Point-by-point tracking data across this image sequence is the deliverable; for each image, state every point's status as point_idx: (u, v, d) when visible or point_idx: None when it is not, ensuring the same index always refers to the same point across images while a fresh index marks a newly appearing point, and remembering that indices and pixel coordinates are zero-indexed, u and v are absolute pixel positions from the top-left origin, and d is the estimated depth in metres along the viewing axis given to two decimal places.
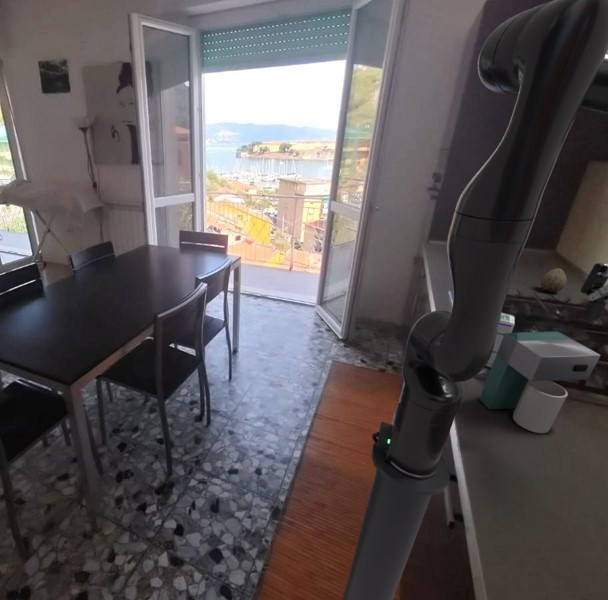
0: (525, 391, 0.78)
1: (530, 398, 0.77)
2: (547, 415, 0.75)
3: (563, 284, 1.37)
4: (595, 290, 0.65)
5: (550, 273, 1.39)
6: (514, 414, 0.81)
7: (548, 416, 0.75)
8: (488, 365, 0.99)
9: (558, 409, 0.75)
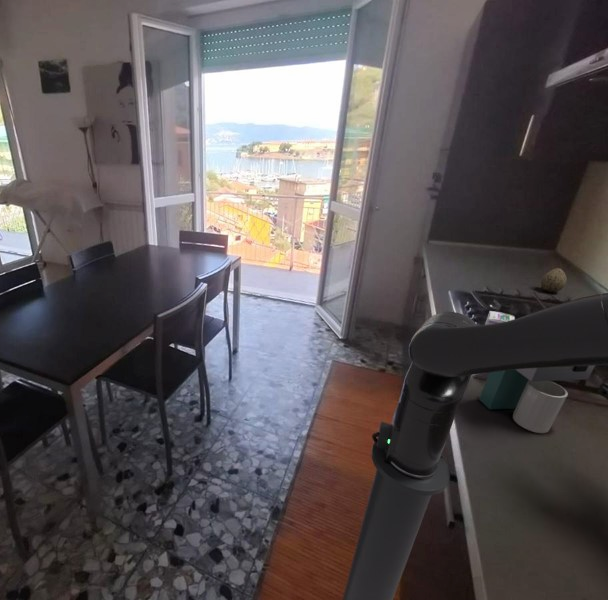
0: (525, 391, 0.78)
1: (530, 398, 0.77)
2: (547, 415, 0.75)
3: (563, 284, 1.37)
4: None
5: (550, 273, 1.39)
6: (514, 414, 0.81)
7: (548, 416, 0.75)
8: None
9: (558, 409, 0.75)
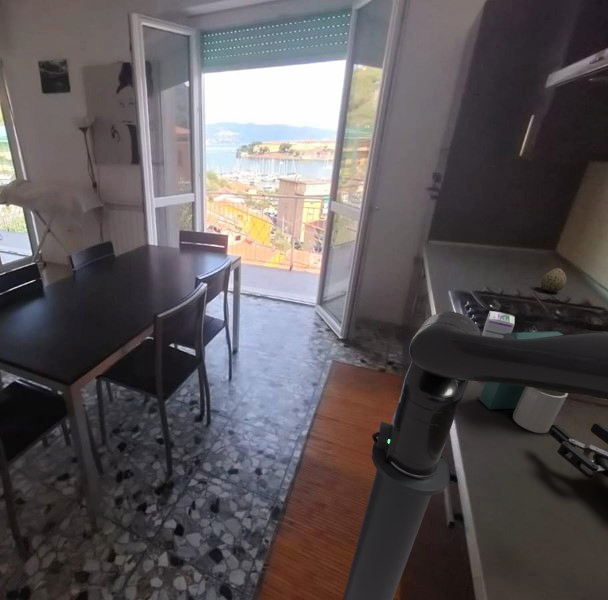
0: (525, 391, 0.78)
1: (530, 398, 0.77)
2: (547, 415, 0.75)
3: (563, 284, 1.37)
4: None
5: (550, 273, 1.39)
6: (514, 414, 0.81)
7: (548, 416, 0.75)
8: None
9: (558, 409, 0.75)
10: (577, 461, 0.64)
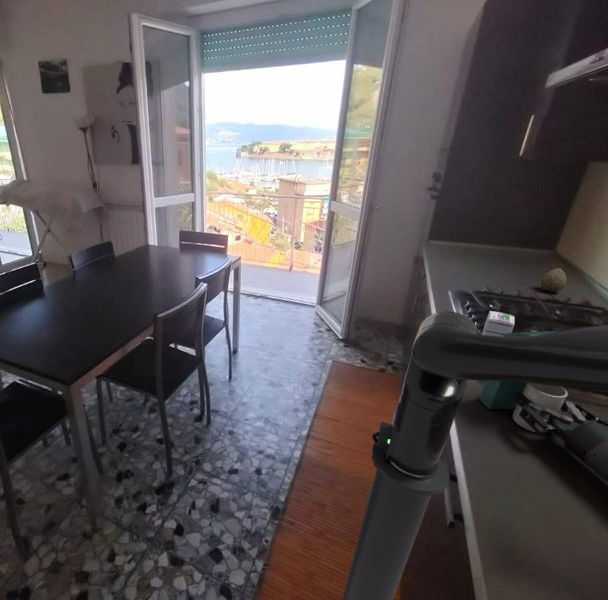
0: (525, 391, 0.78)
1: (530, 398, 0.77)
2: (547, 414, 0.75)
3: (563, 284, 1.37)
4: None
5: (550, 273, 1.39)
6: (514, 414, 0.81)
7: (548, 416, 0.75)
8: None
9: (558, 409, 0.75)
10: (532, 421, 0.73)
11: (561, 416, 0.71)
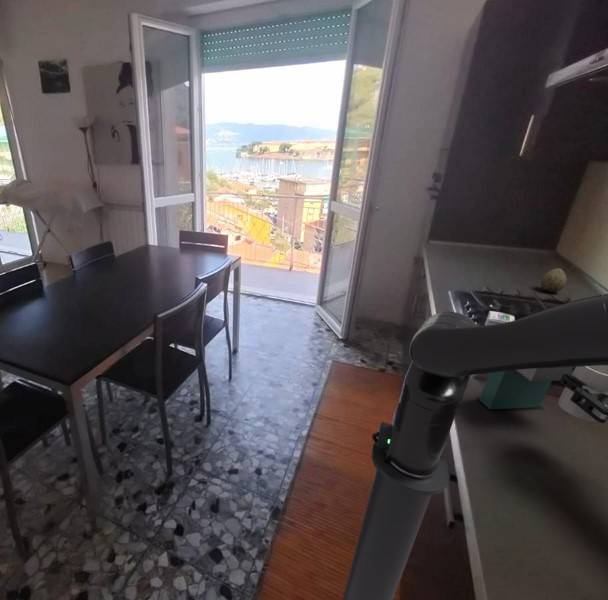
0: (576, 372, 0.66)
1: (583, 380, 0.64)
2: (605, 399, 0.63)
3: (563, 284, 1.37)
4: None
5: (550, 273, 1.39)
6: (560, 400, 0.69)
7: (606, 401, 0.63)
8: None
9: None
10: (589, 406, 0.60)
11: None
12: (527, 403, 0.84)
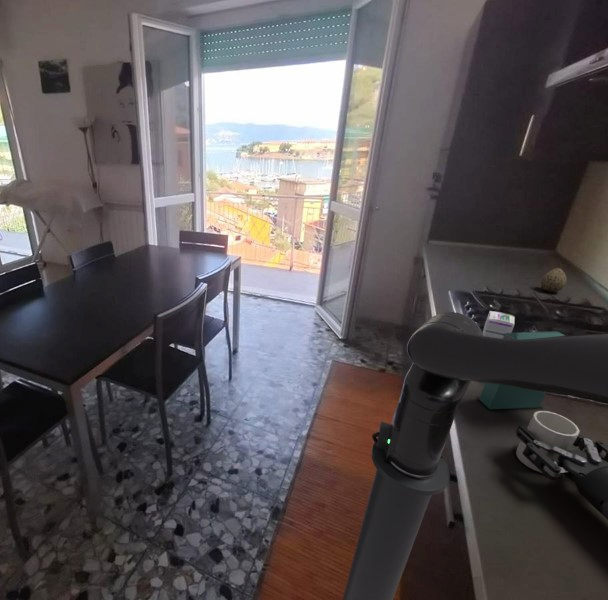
0: (530, 426, 0.69)
1: (536, 435, 0.68)
2: (556, 454, 0.66)
3: (563, 284, 1.37)
4: None
5: (550, 273, 1.39)
6: (518, 450, 0.72)
7: (557, 455, 0.66)
8: None
9: (568, 448, 0.66)
10: (541, 463, 0.63)
11: (573, 456, 0.62)
12: (527, 403, 0.84)
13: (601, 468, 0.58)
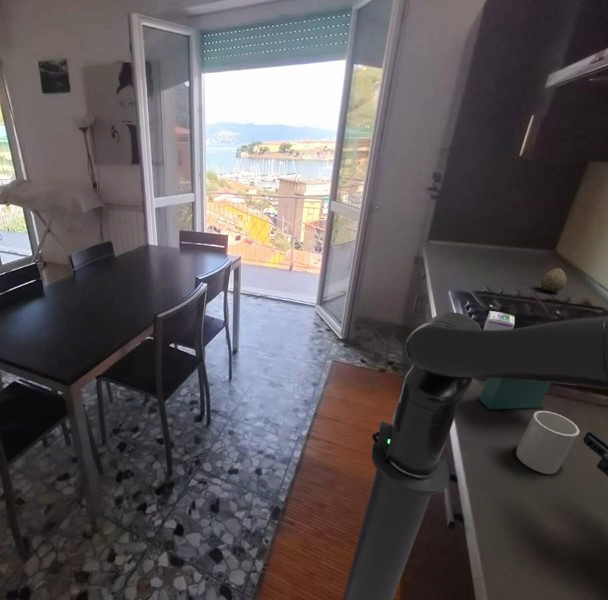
0: (530, 426, 0.69)
1: (536, 435, 0.68)
2: (556, 454, 0.66)
3: (563, 284, 1.37)
4: None
5: (550, 273, 1.39)
6: (518, 450, 0.72)
7: (557, 455, 0.66)
8: None
9: (568, 448, 0.66)
10: None
11: None
12: (527, 403, 0.84)
13: None
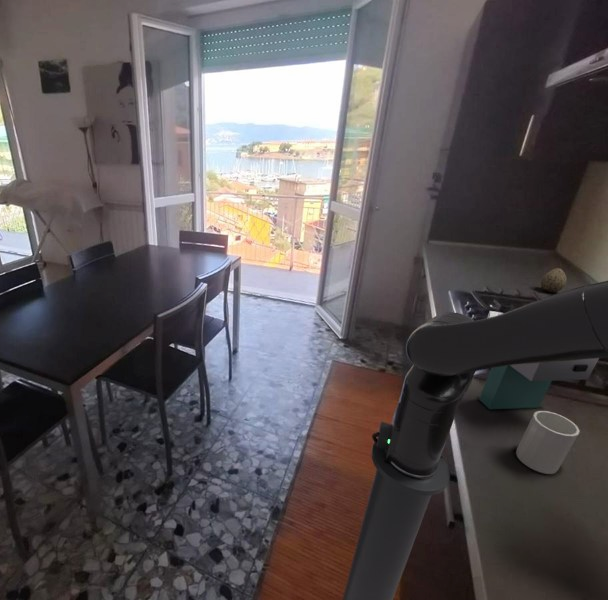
0: (530, 426, 0.69)
1: (536, 435, 0.68)
2: (556, 454, 0.66)
3: (563, 284, 1.37)
4: None
5: (550, 273, 1.39)
6: (518, 450, 0.72)
7: (557, 455, 0.66)
8: None
9: (568, 448, 0.66)
10: None
11: None
12: (527, 403, 0.84)
13: None
